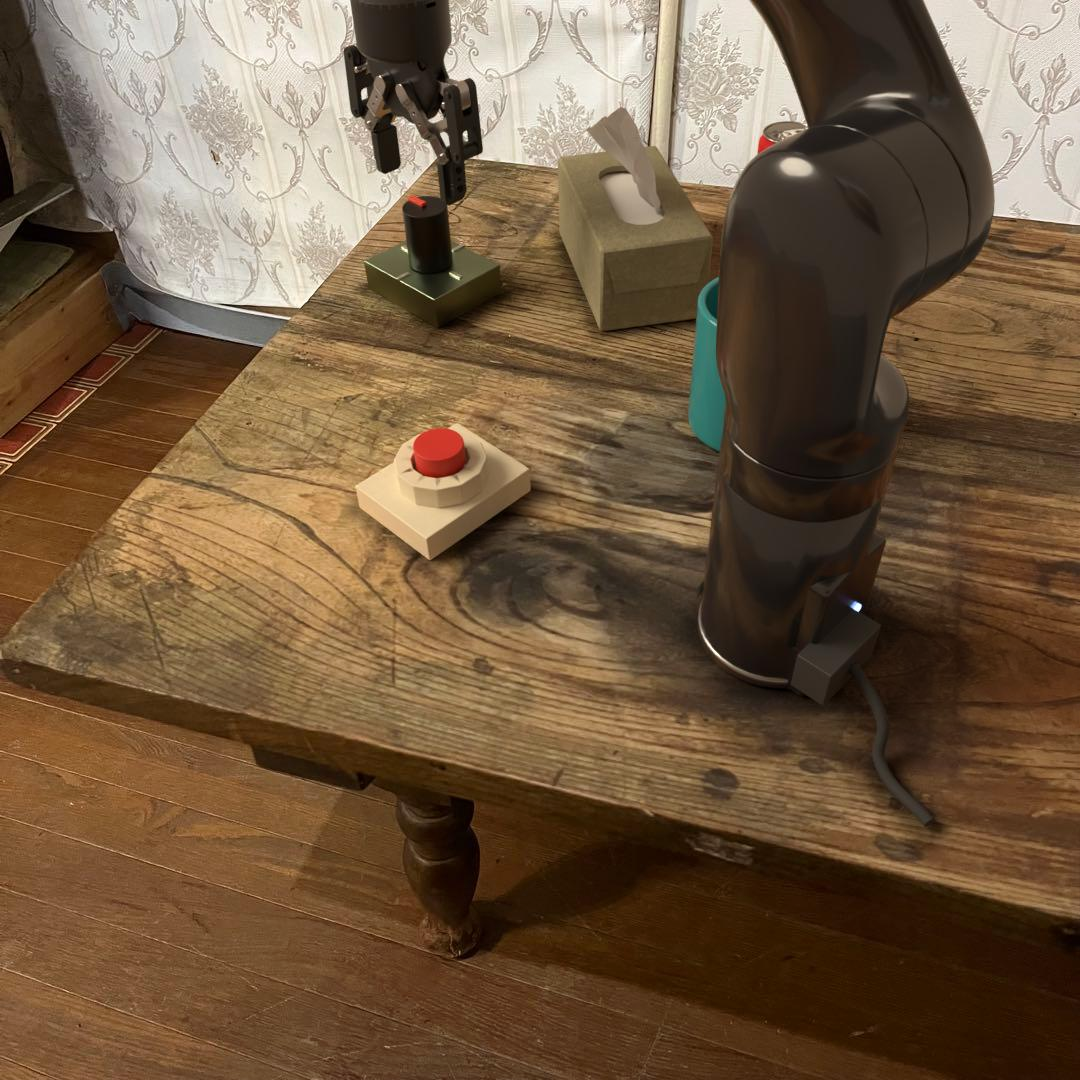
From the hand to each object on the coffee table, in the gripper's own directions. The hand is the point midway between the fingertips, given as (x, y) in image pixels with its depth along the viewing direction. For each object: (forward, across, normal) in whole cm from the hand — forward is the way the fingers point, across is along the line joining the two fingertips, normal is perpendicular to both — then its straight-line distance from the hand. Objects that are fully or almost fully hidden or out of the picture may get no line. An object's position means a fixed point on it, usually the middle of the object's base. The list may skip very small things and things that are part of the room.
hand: (420, 185), depth 90 cm
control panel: (+10, 0, 0) cm, 11 cm away
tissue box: (+11, +12, +14) cm, 21 cm away
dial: (+7, 0, 0) cm, 7 cm away
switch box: (+10, +23, -18) cm, 31 cm away
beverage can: (+11, +20, +26) cm, 35 cm away
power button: (+7, +23, -19) cm, 30 cm away
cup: (+10, +35, +2) cm, 36 cm away
